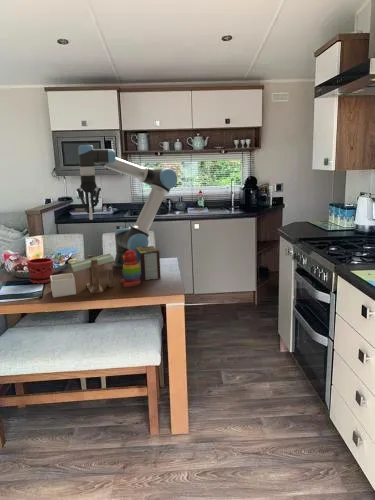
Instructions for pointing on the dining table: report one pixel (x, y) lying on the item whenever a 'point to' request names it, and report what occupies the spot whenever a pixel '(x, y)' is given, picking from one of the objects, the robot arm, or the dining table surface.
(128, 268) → the stacking bear
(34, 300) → the dining table surface
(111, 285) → the stand
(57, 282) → the grey box
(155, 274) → the protein box
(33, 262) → the plant pot
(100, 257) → the lever
